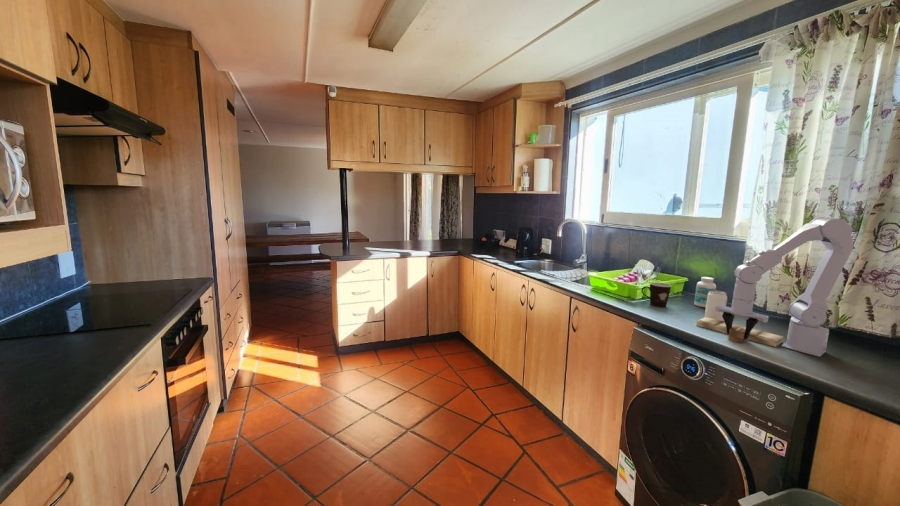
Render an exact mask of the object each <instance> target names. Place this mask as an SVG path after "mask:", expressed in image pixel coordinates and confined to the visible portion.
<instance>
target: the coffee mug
mask: <svg viewBox="0 0 900 506" xmlns="http://www.w3.org/2000/svg"><path fill="white" fill-rule="evenodd" d="M644 289H648V290H649V296H648V295H646V294H645V292H644ZM671 289H672V285H671V284H668V283H664V282H656V281H652V282H649V286H647V285H646V286H643V287H641V290H640V291H641V293H642V295H644V296H645V297H646V298H648V299H649V302H650V303H649V305H650V306H652V307H655V308H662V309H663V308H666V307H667V304H668V300H669V296H670V293H671Z"/></svg>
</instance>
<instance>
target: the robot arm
mask: <svg viewBox="0 0 900 506" xmlns="http://www.w3.org/2000/svg"><path fill="white" fill-rule="evenodd" d="M853 231H854V228H853V227H852V226H851V225H850V224H849V223H848V222H847V221H846V220H844V219H842V218H830V217H829V218H828V217H824V216H823V217H822V216H821V217H816V218H813V219H811V220H810V221H809V222H807V223H805V224H804V225H802V226H801V227H800V228H799V229H798V230H797V231H796V232H794V233H793V234H791V235H790V236H789V237H788V238H785V240H784V241H782V242H781V243H780V244H778V245H776V246H775V247H774V248H773V249H765V250H759V251H758V252H757V255H756V256H754V257H753V258H751V259H750V260H746V261H745V263H744V264H740V265H738V266H737V267H736V268H735V270H734V271H733V275H734V277H735V283H734V286H733V287H734V288H733V294H732V295H733V296H732V302H731V306H726V307H724V306H719V305H718V306H716V310H715V311H717V312H723V315H722V317H723V319H724V321H725V324H726V329H727V335H729V330H730V328H732V324H734V318H735V316H738V317H741V318H746V320H745V323H746V324H745V327H746V330H745V335H744V339H746V340H748V339H747V338H748V336H749V334H750V332H751V330H752V329H754V328H755V326H756V325H757V324H758V323H759V322H762V323H765V324H767V323H768V322H769V318H770V317H769V316H768V315H766V314H761V313H758V312H755V311H753V309H754V302H755V301H754V300H755V295H756V289H757V288H756V287H757V282H759V281H760V280H761V279H762V275H764V274H765V273H767V272H768V271H770V270H771V269H774V268H775V267H777V266H778V265H779V264H781V263H782V260H783V257H784V256H786V255H787V254H789V253H790V252H792V251H794V250H796V249H798V248H799V247H801V246H802V245H804V244H806V243H807V242H813V241H821V243H822V244H823V245H824V247H825V248H826V250H825V252H824V253H823V256H822V258H821V259H820V261H819V264H818V265H817V267H816V270H815V272H814V273H813V275H812V277H811V279H810V281H809V282H808V284H807V287H806V289H805V290H804V292H803V293H801V294H800V295H798V296H797V298H796V299H795V300H794V301H793V302H791V303H790V304H789V306H788V313H789V314H790V316H791V318H790V319H789V325H788V330H787V337H786V341H785V342H784V343H783V344H781V347H782V348H785V349H789V350H793V351H796V352H800V353H804V354H808V355H811V356H815V357H819V358H820V357H822V356H823V354H825V353H826V351H827V348H828V347H827V345H828V339H829V335H830V329H829V328H826V327H823V326H822V325H823V324H825V322H826V321H827V318H828V316H827V312H828V309H829V306H828V302H827V299H828V297H829V295H830V294H831V291H832V290H833V287H834V286H835V284H836V283H837V280H838V277H840V274H841V272H842V270H843V269H844V266H845V265H846V263H847V261H848V259H850V255H851V254H852V252H853V249H854V243H853V236H852V233H853Z"/></svg>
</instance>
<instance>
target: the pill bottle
mask: <svg viewBox="0 0 900 506" xmlns="http://www.w3.org/2000/svg"><path fill="white" fill-rule="evenodd" d="M714 279H715V278H713V277H710V276H701V278H700V280H701V281H698V282H696V287H695V294H694V300H693V301H694V302H693V303H694V305H695V306H696V307H700V308H704V309H706V303H707V296H708V293H709V292H710V290H717V285H716V283H714V281H715V280H714Z"/></svg>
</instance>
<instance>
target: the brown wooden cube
mask: <svg viewBox="0 0 900 506" xmlns="http://www.w3.org/2000/svg"><path fill="white" fill-rule="evenodd" d="M745 330H746V329H744V328H741V327H735V326H734V327H732V328H730V330H729V334H728V338H727V340H728V341H731V342H734V343H739V344H744V342H746V341H747V339H744V335H745Z"/></svg>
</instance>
